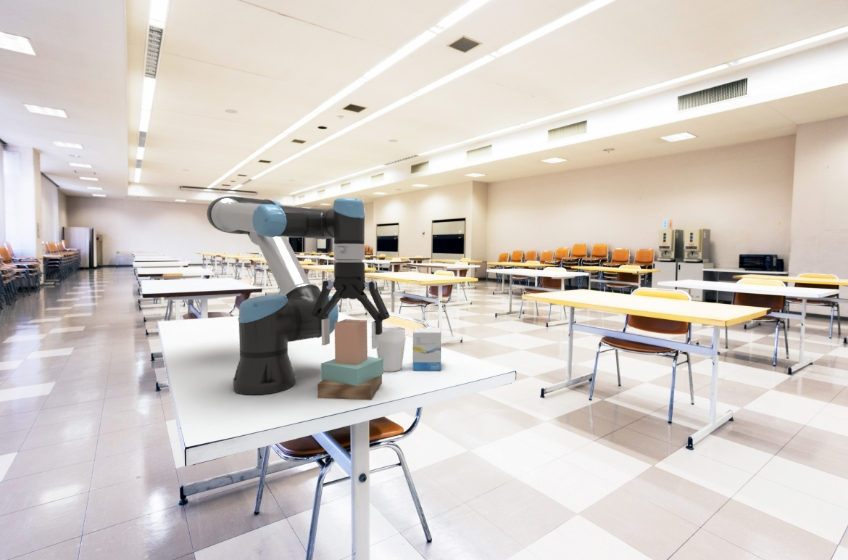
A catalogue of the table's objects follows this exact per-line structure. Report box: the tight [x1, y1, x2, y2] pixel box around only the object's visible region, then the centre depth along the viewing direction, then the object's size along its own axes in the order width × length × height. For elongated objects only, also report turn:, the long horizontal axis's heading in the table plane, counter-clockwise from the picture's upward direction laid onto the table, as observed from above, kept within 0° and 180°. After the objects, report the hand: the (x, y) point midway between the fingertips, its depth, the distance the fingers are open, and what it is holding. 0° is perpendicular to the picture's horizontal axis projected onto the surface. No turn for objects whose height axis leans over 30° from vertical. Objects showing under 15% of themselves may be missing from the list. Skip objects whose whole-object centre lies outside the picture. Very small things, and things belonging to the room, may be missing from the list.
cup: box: [376, 326, 407, 373], centre depth 123 cm, size 9×9×12 cm
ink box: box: [412, 326, 442, 372], centre depth 125 cm, size 9×8×12 cm
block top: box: [320, 356, 384, 386], centre depth 104 cm, size 11×11×4 cm
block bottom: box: [316, 374, 383, 401], centre depth 104 cm, size 13×13×4 cm
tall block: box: [334, 318, 368, 365], centre depth 103 cm, size 6×6×10 cm
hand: (350, 346), depth 103 cm, fingers open, 13 cm apart
